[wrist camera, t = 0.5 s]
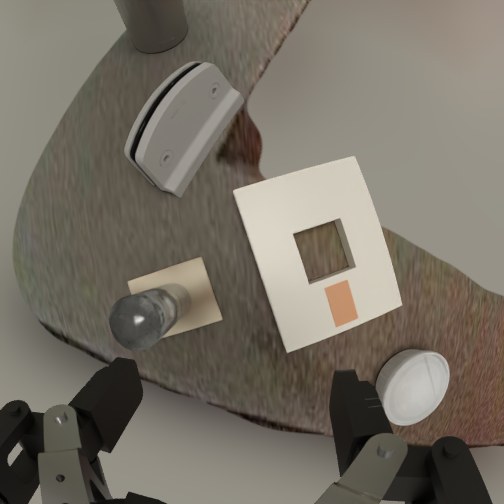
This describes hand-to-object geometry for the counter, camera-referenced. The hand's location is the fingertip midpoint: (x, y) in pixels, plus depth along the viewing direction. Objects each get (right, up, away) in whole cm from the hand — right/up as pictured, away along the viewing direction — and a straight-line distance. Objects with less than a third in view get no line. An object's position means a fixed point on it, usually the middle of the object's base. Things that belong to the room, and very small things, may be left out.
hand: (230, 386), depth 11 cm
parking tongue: (-9, -1, +25) cm, 27 cm away
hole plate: (+9, +5, +26) cm, 28 cm away
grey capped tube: (-9, -1, +24) cm, 26 cm away
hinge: (-7, +21, +26) cm, 34 cm away
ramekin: (+23, -13, +26) cm, 37 cm away
